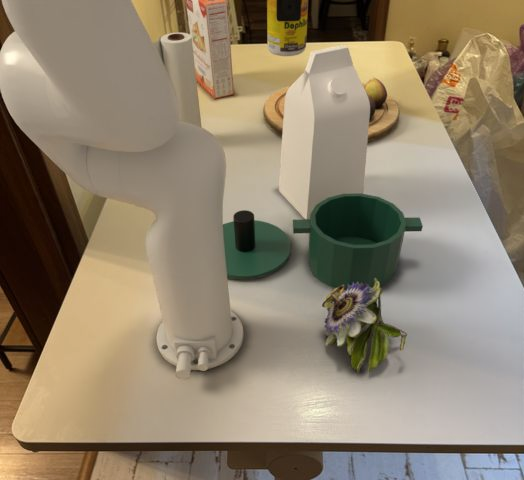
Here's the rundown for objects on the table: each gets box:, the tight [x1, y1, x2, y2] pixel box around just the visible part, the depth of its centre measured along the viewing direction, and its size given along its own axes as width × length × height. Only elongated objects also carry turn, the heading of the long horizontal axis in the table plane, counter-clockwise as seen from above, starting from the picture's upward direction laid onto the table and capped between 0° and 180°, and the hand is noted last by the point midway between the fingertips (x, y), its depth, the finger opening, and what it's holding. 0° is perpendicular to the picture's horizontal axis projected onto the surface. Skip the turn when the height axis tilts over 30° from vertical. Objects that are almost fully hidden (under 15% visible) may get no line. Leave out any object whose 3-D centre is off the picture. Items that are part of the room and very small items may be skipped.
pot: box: [292, 193, 424, 290], centre depth 83 cm, size 15×20×8 cm
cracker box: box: [185, 0, 235, 100], centre depth 128 cm, size 14×6×21 cm, turn 25°
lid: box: [223, 209, 292, 279], centre depth 86 cm, size 16×16×7 cm
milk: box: [278, 44, 370, 219], centre depth 90 cm, size 12×12×26 cm
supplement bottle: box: [266, 0, 309, 57], centre depth 71 cm, size 6×6×10 cm
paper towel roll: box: [153, 32, 203, 128], centre depth 108 cm, size 7×6×21 cm
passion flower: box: [321, 278, 408, 373], centre depth 72 cm, size 11×11×12 cm
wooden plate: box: [263, 77, 401, 143], centre depth 120 cm, size 32×32×8 cm
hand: (287, 11), depth 71 cm, fingers closed on supplement bottle, 5 cm apart
